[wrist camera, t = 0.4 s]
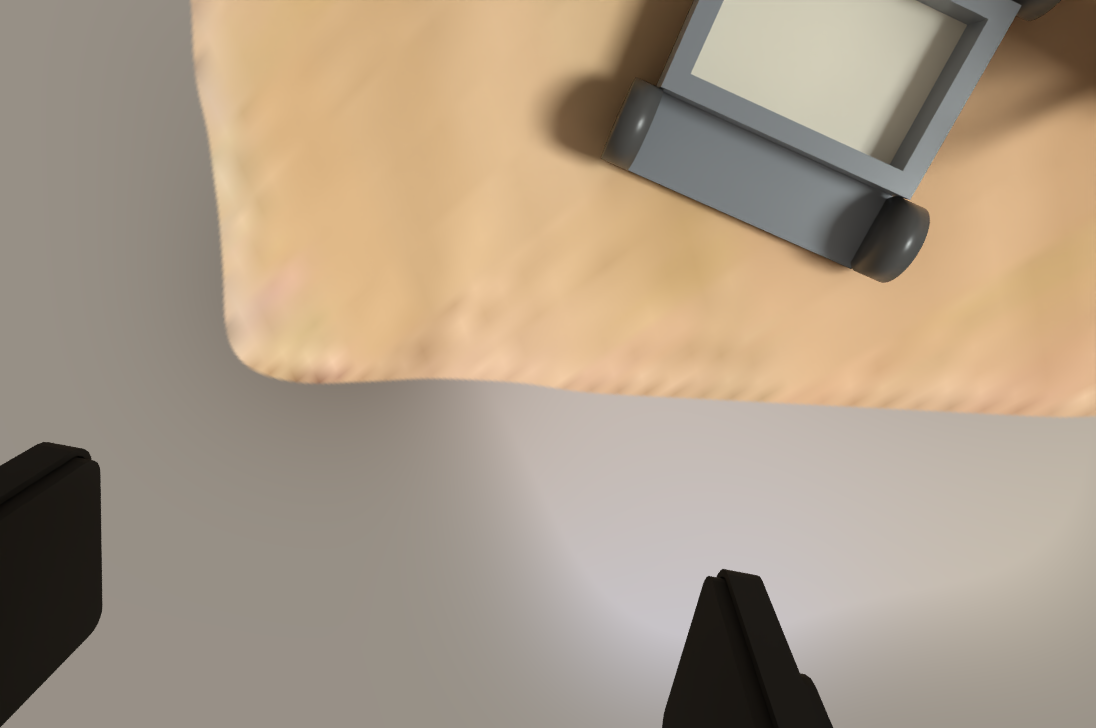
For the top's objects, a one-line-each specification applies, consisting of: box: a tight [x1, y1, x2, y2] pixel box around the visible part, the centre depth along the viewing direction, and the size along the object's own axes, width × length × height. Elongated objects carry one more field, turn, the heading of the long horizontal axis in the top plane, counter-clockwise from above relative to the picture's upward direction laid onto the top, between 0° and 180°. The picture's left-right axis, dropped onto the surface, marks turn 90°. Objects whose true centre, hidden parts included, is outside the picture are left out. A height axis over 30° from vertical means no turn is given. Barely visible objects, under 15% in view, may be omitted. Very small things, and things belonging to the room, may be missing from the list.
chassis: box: [601, 0, 1061, 283], centre depth 33 cm, size 17×15×4 cm
